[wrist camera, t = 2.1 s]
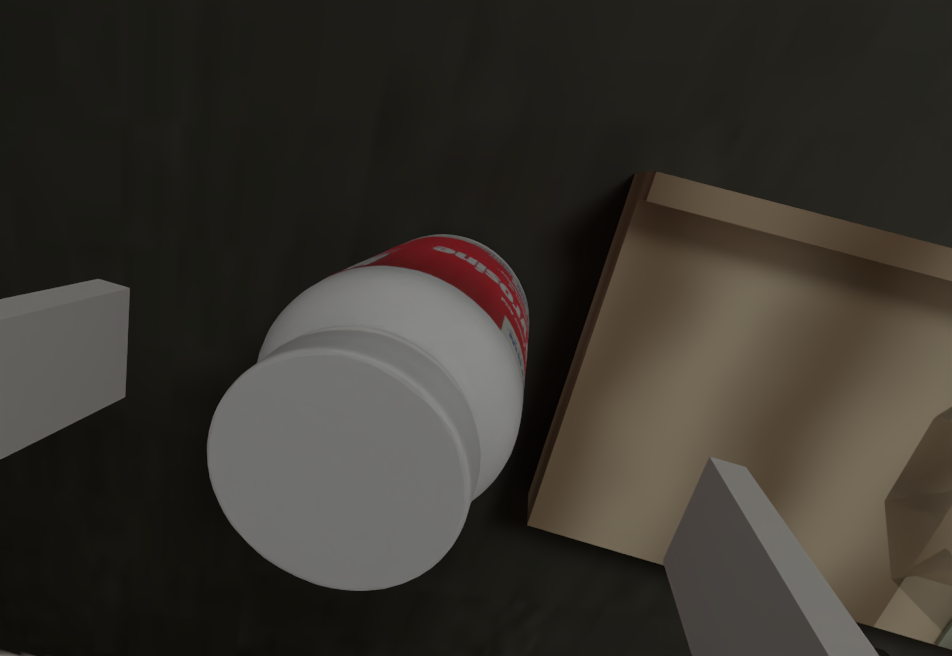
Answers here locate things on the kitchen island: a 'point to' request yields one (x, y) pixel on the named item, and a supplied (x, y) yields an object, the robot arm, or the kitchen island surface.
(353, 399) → the pill bottle
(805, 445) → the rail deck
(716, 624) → the robot arm
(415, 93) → the kitchen island surface
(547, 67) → the kitchen island surface
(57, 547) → the kitchen island surface
